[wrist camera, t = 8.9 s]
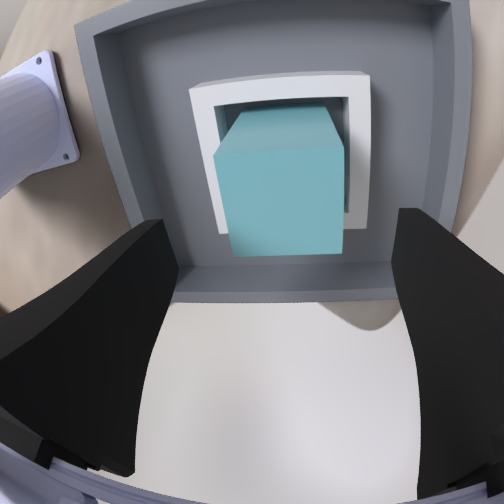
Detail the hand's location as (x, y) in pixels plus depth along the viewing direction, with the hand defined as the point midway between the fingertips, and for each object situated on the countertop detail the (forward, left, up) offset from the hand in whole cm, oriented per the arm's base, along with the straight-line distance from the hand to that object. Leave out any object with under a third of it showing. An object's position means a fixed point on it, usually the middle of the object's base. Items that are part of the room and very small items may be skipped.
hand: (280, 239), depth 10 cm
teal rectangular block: (0, 0, -8) cm, 8 cm away
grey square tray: (0, 0, -9) cm, 9 cm away
